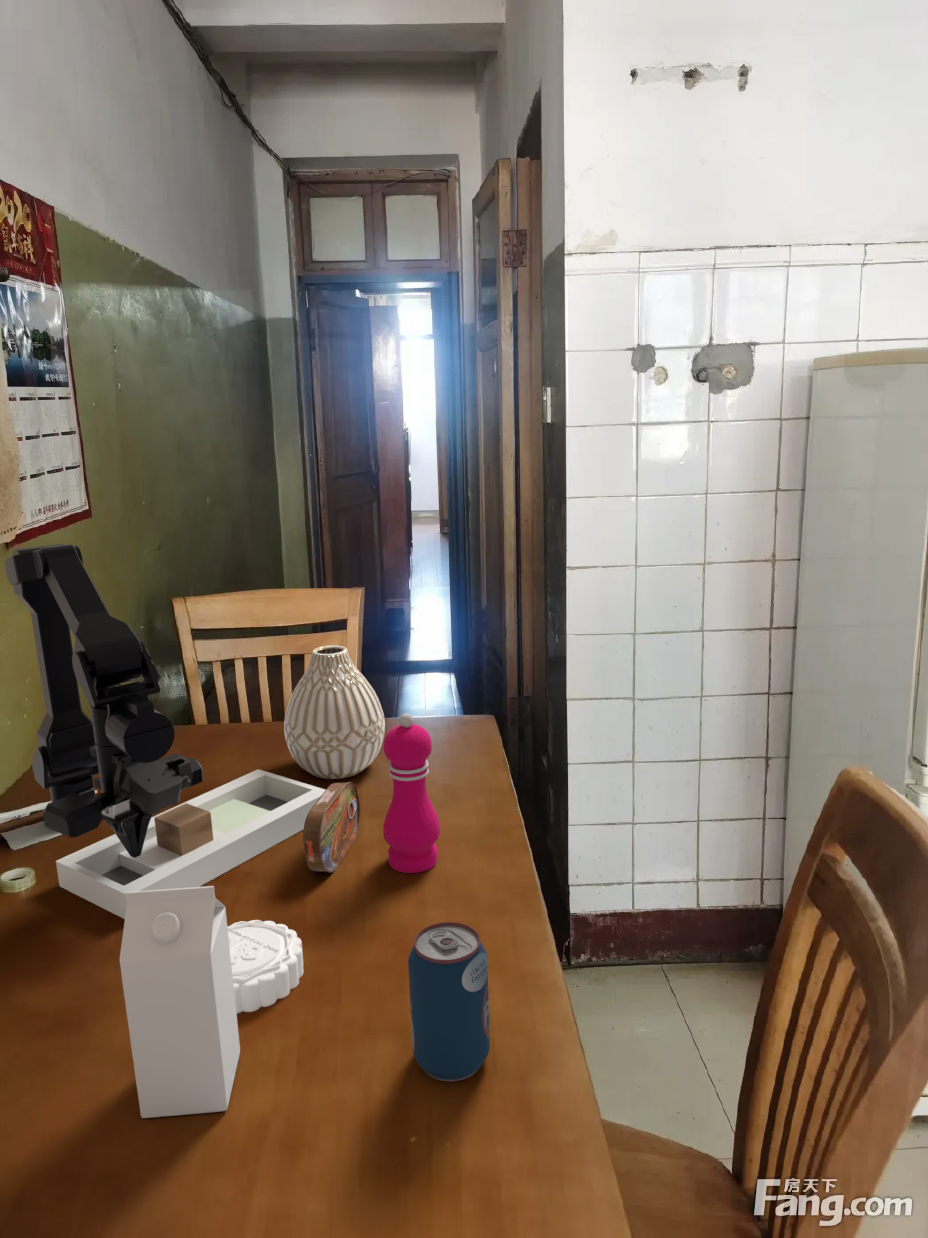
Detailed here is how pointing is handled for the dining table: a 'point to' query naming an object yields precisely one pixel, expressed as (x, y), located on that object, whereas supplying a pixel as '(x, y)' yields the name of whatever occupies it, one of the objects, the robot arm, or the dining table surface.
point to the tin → (331, 827)
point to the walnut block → (184, 829)
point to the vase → (333, 717)
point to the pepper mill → (410, 800)
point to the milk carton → (179, 1000)
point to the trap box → (241, 830)
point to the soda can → (449, 1001)
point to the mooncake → (263, 962)
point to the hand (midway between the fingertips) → (135, 856)
